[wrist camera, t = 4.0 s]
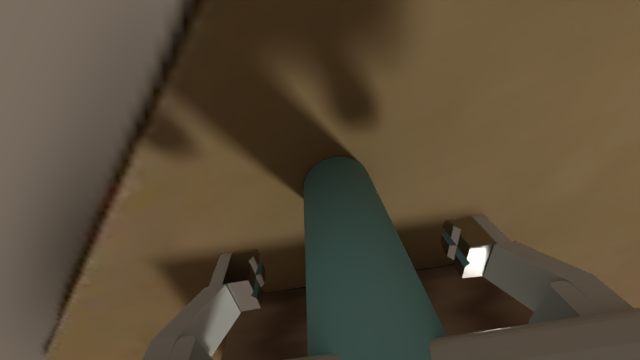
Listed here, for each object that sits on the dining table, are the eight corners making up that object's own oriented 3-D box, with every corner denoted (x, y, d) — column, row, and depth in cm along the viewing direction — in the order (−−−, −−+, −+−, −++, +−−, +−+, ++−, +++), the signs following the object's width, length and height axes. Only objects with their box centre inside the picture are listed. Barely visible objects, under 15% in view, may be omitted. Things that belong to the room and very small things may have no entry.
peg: (369, 151, 14) (587, 524, 3) (370, 208, 16) (506, 542, 5) (298, 162, 14) (293, 565, 3) (309, 217, 16) (327, 567, 5)
